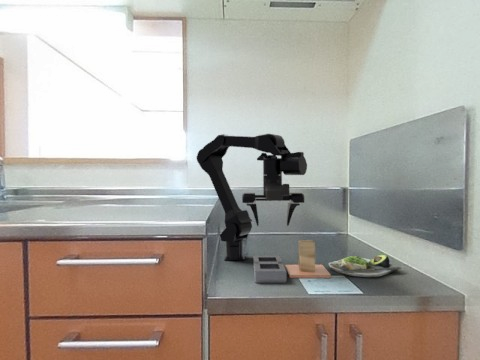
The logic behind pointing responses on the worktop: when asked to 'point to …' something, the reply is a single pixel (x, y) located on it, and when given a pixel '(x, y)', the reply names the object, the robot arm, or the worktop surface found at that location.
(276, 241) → the worktop surface
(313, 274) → the terracotta tile
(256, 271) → the grey slotted holder
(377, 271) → the salad plate
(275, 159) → the robot arm
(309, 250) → the maple peg
